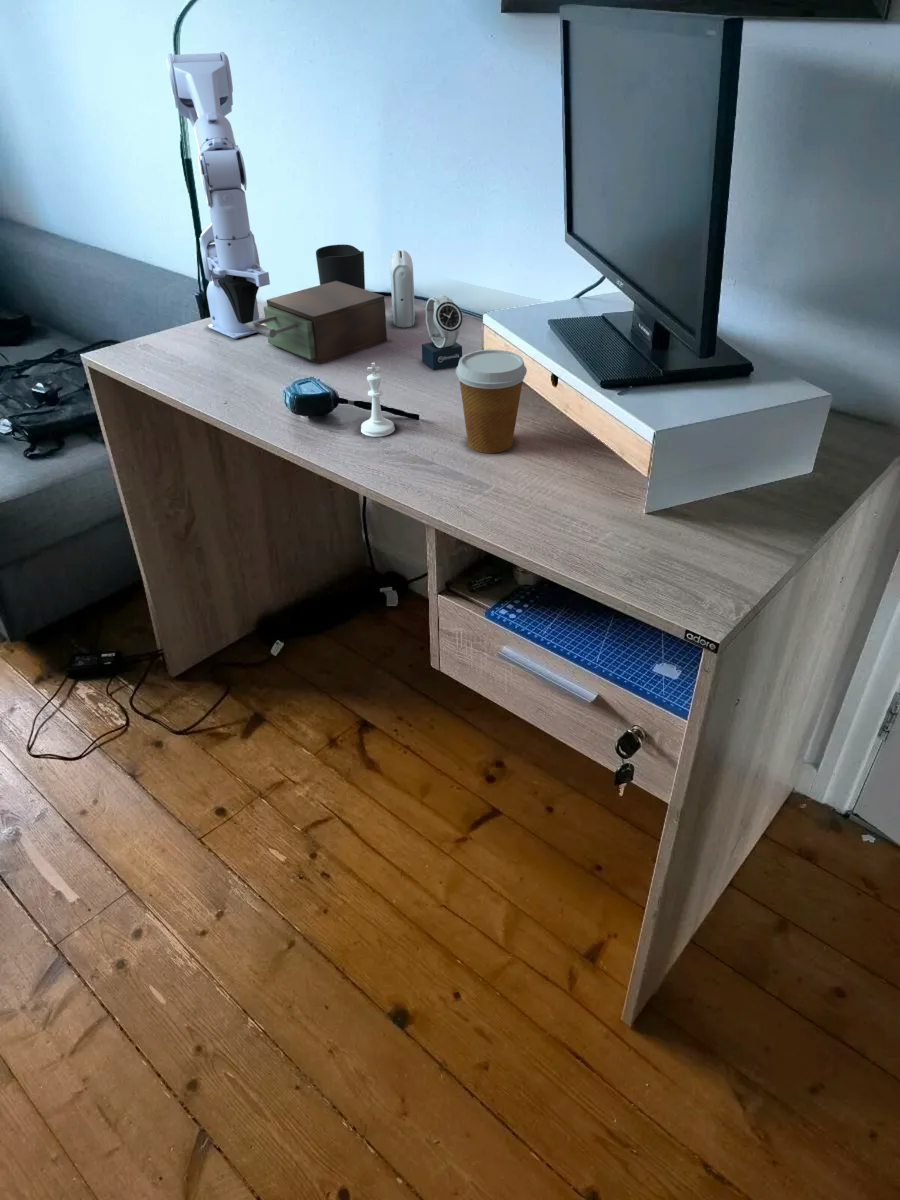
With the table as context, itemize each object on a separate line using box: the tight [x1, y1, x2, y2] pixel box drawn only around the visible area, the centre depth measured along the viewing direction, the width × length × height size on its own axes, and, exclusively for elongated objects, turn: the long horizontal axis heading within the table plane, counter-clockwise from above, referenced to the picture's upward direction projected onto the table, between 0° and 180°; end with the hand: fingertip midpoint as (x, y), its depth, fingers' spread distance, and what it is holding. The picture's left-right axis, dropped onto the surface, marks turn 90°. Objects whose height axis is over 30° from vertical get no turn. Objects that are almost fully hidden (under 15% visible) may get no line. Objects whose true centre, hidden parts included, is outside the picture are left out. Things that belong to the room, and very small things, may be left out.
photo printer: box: [389, 249, 416, 328], centre depth 161 cm, size 10×4×12 cm, turn 4°
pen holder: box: [315, 243, 366, 290], centre depth 171 cm, size 9×9×10 cm
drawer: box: [246, 305, 316, 361], centre depth 150 cm, size 20×12×6 cm, turn 135°
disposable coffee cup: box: [455, 349, 528, 454], centre depth 117 cm, size 10×10×12 cm
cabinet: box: [266, 281, 388, 364], centre depth 152 cm, size 16×14×8 cm
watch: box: [421, 295, 465, 371], centre depth 142 cm, size 6×8×11 cm
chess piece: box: [360, 362, 396, 438], centre depth 122 cm, size 5×5×10 cm
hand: (245, 321), depth 142 cm, fingers closed
